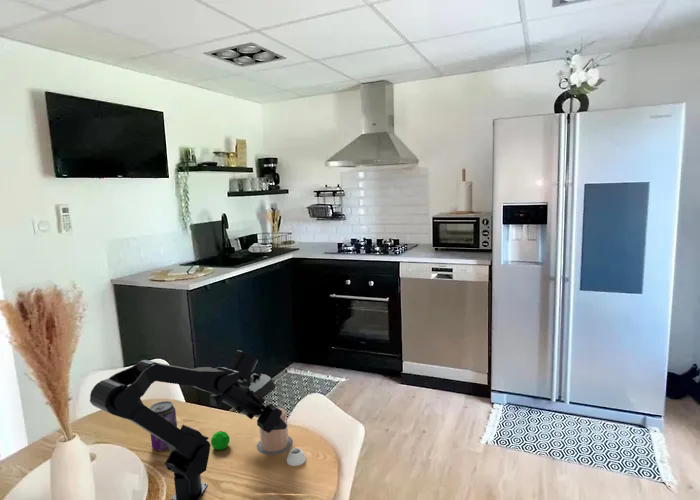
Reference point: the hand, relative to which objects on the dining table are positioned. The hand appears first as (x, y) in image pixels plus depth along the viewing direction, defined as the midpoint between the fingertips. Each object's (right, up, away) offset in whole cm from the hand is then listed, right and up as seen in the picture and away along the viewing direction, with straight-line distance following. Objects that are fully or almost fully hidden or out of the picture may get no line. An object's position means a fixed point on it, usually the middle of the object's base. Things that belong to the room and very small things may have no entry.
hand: (277, 420), depth 124 cm
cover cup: (-1, -6, 0) cm, 7 cm away
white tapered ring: (+6, -8, -8) cm, 13 cm away
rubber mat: (-1, -7, 0) cm, 7 cm away
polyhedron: (-16, -8, 0) cm, 18 cm away
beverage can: (-33, -8, +3) cm, 34 cm away
